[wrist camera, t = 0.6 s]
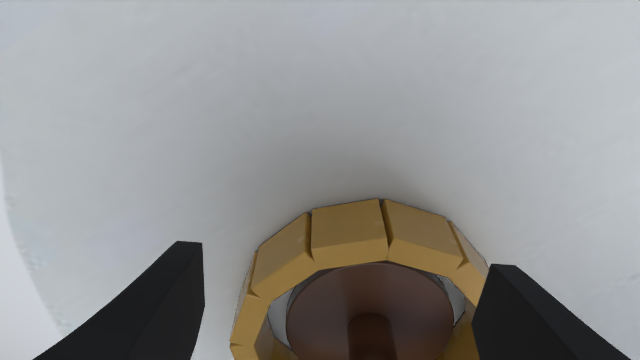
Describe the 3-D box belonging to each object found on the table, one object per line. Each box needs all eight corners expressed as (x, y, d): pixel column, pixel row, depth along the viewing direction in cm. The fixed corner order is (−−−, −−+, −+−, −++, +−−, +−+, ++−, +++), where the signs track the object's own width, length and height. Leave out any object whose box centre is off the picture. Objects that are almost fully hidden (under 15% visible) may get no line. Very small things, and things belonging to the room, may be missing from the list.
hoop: (488, 369, 27) (507, 420, 24) (274, 396, 28) (269, 447, 25) (484, 180, 21) (510, 218, 18) (211, 224, 22) (196, 266, 19)
